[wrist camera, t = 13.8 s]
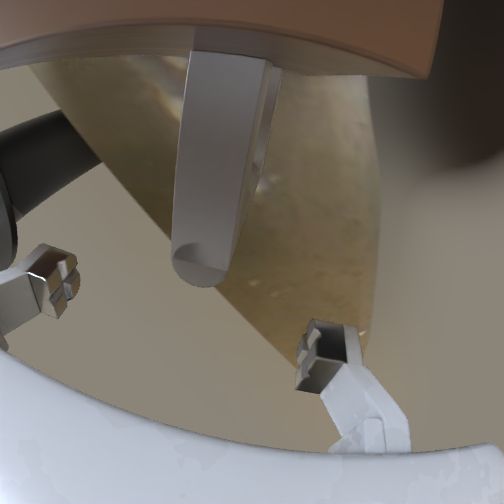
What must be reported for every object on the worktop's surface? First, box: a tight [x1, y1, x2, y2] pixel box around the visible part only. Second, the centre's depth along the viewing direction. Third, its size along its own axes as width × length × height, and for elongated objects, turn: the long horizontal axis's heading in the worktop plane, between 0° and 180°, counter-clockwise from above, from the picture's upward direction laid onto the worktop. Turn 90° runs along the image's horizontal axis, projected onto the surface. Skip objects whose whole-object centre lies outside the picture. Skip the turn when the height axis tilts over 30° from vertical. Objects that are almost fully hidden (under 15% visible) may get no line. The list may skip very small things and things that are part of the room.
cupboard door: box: [0, 0, 444, 287], centre depth 12 cm, size 8×18×22 cm, turn 80°
